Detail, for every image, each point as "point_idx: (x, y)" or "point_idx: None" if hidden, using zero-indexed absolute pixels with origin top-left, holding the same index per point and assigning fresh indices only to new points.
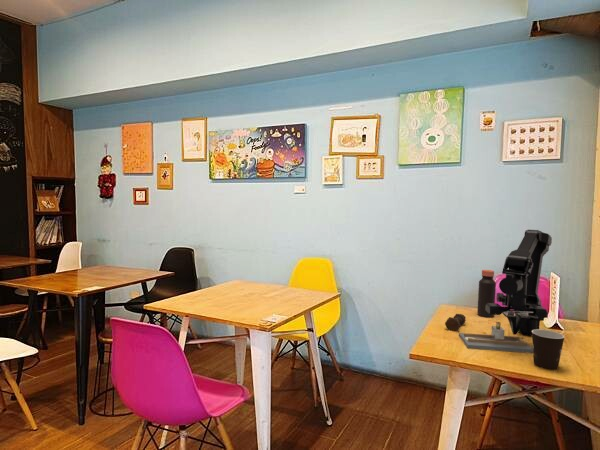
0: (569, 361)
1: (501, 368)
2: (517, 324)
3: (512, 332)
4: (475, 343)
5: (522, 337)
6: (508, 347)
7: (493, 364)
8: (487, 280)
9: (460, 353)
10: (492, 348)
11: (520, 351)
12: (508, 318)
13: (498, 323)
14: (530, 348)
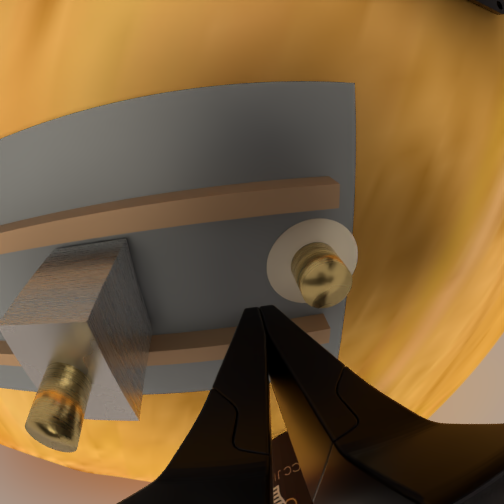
0: (429, 374)
1: (145, 480)
2: (300, 454)
3: (241, 319)
4: (5, 368)
5: (341, 267)
6: (178, 389)
7: (120, 468)
8: None
9: (5, 415)
10: None
11: None
12: (182, 485)
13: (60, 445)
14: None
